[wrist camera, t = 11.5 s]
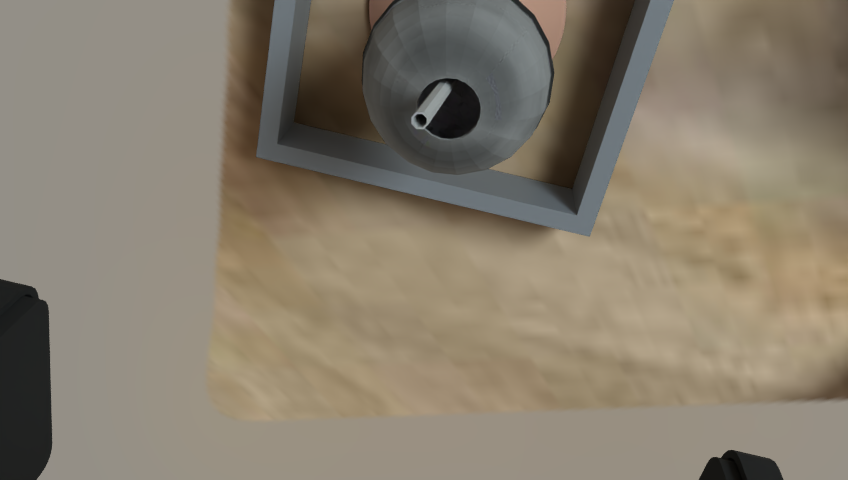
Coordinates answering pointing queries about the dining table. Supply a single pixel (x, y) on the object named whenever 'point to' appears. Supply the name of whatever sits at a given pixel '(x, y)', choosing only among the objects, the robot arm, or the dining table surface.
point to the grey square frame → (476, 188)
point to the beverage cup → (456, 81)
